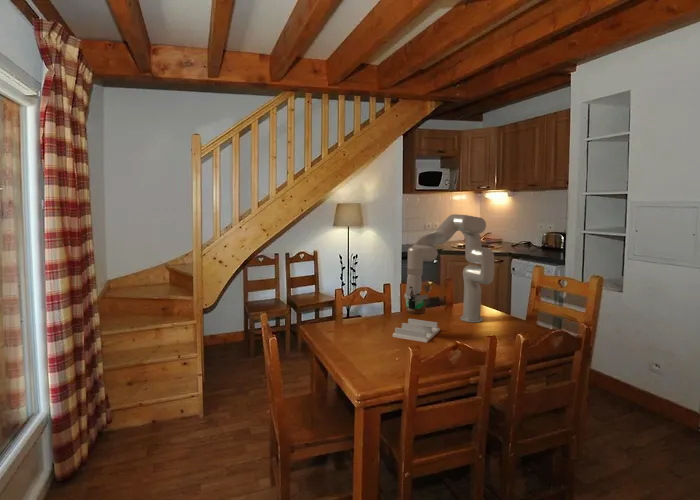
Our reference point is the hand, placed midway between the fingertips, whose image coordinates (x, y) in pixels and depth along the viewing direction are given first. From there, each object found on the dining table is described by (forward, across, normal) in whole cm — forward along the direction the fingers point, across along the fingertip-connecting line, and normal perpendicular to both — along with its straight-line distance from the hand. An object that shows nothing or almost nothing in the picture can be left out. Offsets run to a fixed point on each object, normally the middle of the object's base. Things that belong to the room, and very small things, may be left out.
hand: (414, 306), depth 226 cm
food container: (+4, 0, 0) cm, 4 cm away
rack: (+15, -5, 0) cm, 16 cm away
